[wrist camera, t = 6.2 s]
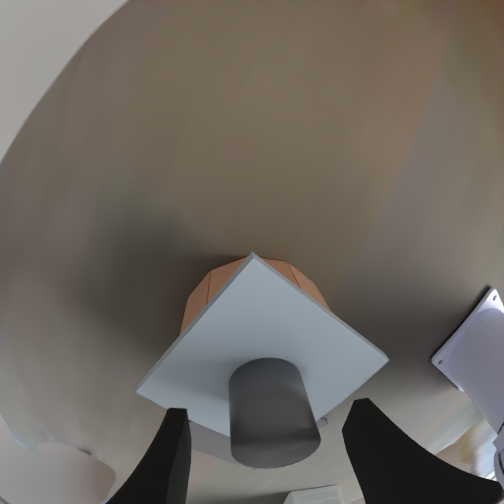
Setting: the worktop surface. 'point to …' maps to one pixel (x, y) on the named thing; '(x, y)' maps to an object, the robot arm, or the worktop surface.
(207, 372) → the lid
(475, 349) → the robot arm
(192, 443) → the mat
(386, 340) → the worktop surface
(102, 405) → the worktop surface
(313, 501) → the small box
